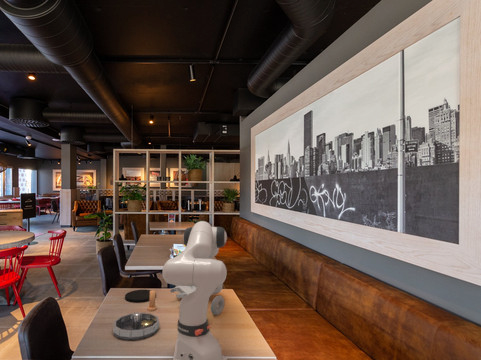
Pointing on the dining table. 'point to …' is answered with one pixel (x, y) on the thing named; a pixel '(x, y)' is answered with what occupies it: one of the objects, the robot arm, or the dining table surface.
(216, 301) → the donut
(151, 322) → the bowl
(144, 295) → the wireless charger
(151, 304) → the peg on round base
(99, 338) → the dining table surface
